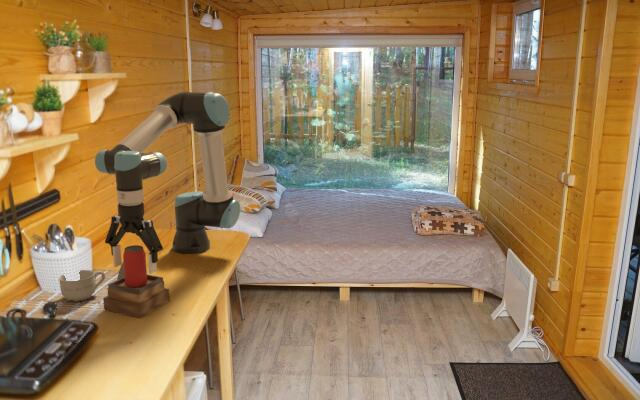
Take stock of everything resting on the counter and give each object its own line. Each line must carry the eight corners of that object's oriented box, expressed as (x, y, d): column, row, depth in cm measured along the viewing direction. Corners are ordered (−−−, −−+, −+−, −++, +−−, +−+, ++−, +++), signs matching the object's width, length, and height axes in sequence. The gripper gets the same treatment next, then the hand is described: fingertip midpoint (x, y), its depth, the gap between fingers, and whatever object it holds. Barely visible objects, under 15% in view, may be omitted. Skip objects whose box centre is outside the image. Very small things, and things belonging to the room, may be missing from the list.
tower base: (135, 293, 184) (133, 270, 182) (169, 300, 179) (168, 276, 177) (104, 309, 172) (102, 285, 170) (140, 318, 166) (138, 293, 164)
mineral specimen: (143, 282, 193) (142, 260, 191) (117, 286, 190) (116, 264, 188) (141, 275, 200) (140, 254, 198) (116, 278, 196) (114, 257, 194)
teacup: (62, 307, 173) (59, 283, 171) (60, 294, 182) (57, 271, 180) (109, 299, 179) (107, 276, 177) (104, 287, 189) (103, 265, 187)
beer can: (135, 290, 169) (132, 253, 166) (120, 285, 173) (117, 249, 170) (151, 283, 175) (149, 247, 172) (137, 278, 178) (135, 243, 175)
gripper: (89, 200, 168) (95, 266, 174) (156, 210, 159) (160, 279, 164) (107, 195, 175) (112, 259, 180) (172, 204, 166) (175, 271, 171)
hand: (135, 268), depth 172 cm, fingers open, 13 cm apart
